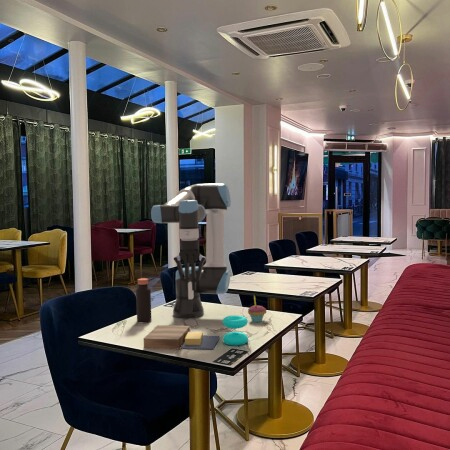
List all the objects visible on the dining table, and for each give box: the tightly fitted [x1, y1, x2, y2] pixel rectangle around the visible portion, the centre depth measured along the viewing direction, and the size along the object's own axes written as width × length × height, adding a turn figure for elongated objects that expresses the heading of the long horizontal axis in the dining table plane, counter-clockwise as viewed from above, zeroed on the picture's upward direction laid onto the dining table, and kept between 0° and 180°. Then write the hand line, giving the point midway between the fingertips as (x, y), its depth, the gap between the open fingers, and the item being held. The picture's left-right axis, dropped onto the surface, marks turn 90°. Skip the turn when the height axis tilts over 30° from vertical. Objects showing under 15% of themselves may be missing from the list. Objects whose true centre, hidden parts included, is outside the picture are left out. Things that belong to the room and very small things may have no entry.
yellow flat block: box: [185, 331, 204, 345], centre depth 184 cm, size 9×6×2 cm, turn 176°
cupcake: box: [247, 295, 267, 323], centre depth 214 cm, size 9×8×12 cm
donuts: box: [222, 314, 249, 347], centre depth 183 cm, size 10×10×10 cm
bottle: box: [135, 277, 152, 323], centre depth 217 cm, size 7×7×20 cm
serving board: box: [143, 324, 191, 351], centre depth 186 cm, size 18×14×4 cm
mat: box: [180, 334, 221, 351], centre depth 184 cm, size 16×12×1 cm
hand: (191, 298), depth 183 cm, fingers closed
